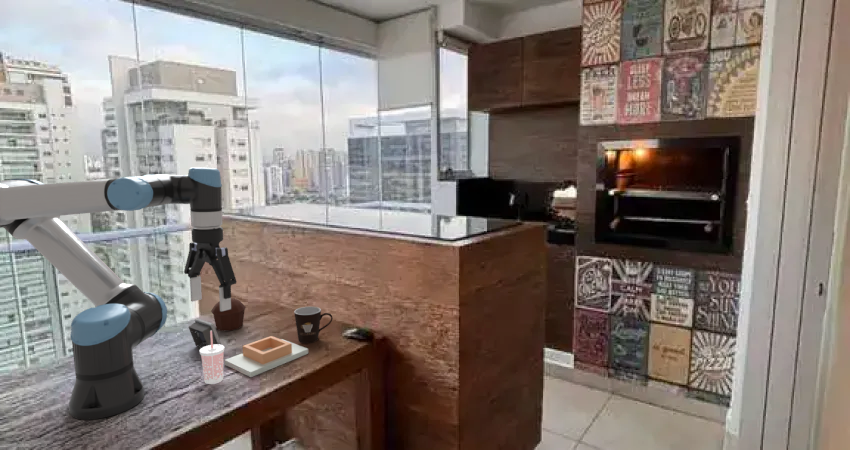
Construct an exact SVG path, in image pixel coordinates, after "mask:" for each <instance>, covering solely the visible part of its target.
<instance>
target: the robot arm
mask: <svg viewBox="0 0 850 450" xmlns="http://www.w3.org/2000/svg"><path fill="white" fill-rule="evenodd" d="M221 178H222V177H221V171H220V170H219V169H218V168H216V167H190V168H189V169H188V173H187V174H183V175H181V174H161V173H150V174H144V175H142V176H141V175H140V176H139V175H138V176H137V175H136V176H135V175H133V176H132V175H131V176H121V177H116V178H115V177H113V178H102V179H90V180H89V179H88V180H77V181H66V182H53V183H44V182H41V181H38V180H37V179H36V180H35V179H29V178H11V179H6V180H5V179H4V180H3V179H1V180H0V228H4V229H5V230H6V231H7V232H8V233H9V234H10V235H11V236H12V238H14V239H17V240H26V241H27V242H28V243H29V244H30V245H32V247H33V248H35V249H36V251H38V253H40V254H41V255H42V256H43V257H44V258H45V260H47V261H48V262H49V263H50V264H51V265H52V266H53V267H54V268H55V269H56V270H57V271H59V273H61V274H62V275H63V276H64V278H66V279H67V281H69V282H70V284H72V285H73V286H74V287H75V288H76V289H77V290H78V291H79V292H80V293H81V294H82V295H83V296H84V297H85V298H87V299H88V300H89V301H90V302H91V304H93V305H94V306H95V307H90V308H87V309H84V310H82V311H81V312H80V313H78V314H77V315H75V317H73V319H72V321H71V324H70V339H71V344H72V354H73V363H74V373H75V382H74V386H73V389H72V392H71V396H70V398H69V404H68V407H69V408H68V409H69V414H70V416H72V417H73V418H74V419H77V420H99V419H104V418H108V417H112V416H116V415H118V414H119V415H120V414H121V413H123V412H126V411H128V410H131V409H132V408H134V407H135V406H137V405H139V404H140V403H141V402H142V401H143V399H144V398H145V387H144V384H143V382H142V380H141V378H140V376H139V375H138V373H137V370H136V369H135V365H134V354H133V353H134V352H133V349H134V348H136V347H137V346H139V345H140V344H141V343H142V342H144V341H146V340H147V339H149V338H152V337H153V336H154V335H155V334H156V333H158V332H159V330H161V329H162V328H163V327H164V325H165V324H166V322H167V318H168V308H167V305H166V302H165V301H164V300H163V298H162V297H161V296H159V295H158V294H156V293H155V292H148V291H143V290H141V288H139V286H138V285H136V284H135V283H125V282H124V280H122V278H120V277H119V275H117V274H116V273H115V272H114V271H113V270H112V269H111V268H110V267H109V266H108V265H107V264H106V263H105V262H104V261H103V260H102V259H101V258H100V257H99V256H98V255H97V254H96V253H95V252H94V251H93V250H92V249H91V248H90V247H89V246H88V245H87V244H86V243H85V242H83V240H81V238H79V236H78V235H76V234H75V232H74V231H73V230H72V229H71V228H69V227H68V226H67V224H65V223H64V222H63V221H62V220H61V219H60V218H61V216H68V215H70V216H71V215H81V214H92V213H93V214H95V213H104V212H115V211H116V212H117V211H124V212H125V211H128V212H131V211H132V212H133V211H139V210H142V209H146V208H152V207H157V206H163V205H171V204H172V205H189V207H190V209H189V210H190V213H189V214H190V226H191V227H192V228H191V230H190V231H191V232H190V233H191V242H189V245H188V246H189V248H188V249H189V250H188V253H187V258H186V263H185V266H184V271H183V273H184V274H185V275H187V277H188V278H189V286H190V287H189V289H190V290H189V291H190V302H192V303H193V302H196V301H200V300H202V299H203V296H202V295H203V294H202V277H201V271H202V269H203V267H204V265H205V263H208V265H209V266H211V267H212V270H213V271H214V274H215V275H216V277H217V279H218V283H220V284H219V285H218V293H219V301H220V311H226V310H229V309H231V298H232V285H236V284H237V279H236V275H235V273H234V269H233V267H232V263H231V260H230V256H229V250H228V247H226V246H224V247H220V242H221V243H222V242H223V240H224V229H223V224H224V223H223V201H222V200H223V199H222V196H223V195H222V193H223V192H222V187H223V185H222V179H221Z"/></svg>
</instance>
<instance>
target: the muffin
mask: <svg viewBox="0 0 850 450" xmlns="http://www.w3.org/2000/svg"><path fill="white" fill-rule="evenodd" d="M246 308H247V307H246V306H245V305H244V304H243V303H242V302H241V300H239V299H237V298H233V297H231V309H229V310H226V311H220V300H219V301H217V302H216V304H214V306H213V308H212V309H211V313H212V314H213V318H214V323H215V324H214V325H215V329H216V331H221V332H230V331H234V330H235V331H236V330H239V329H241V327H243V326H244V319H245V318H244V317H245V310H246Z"/></svg>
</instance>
